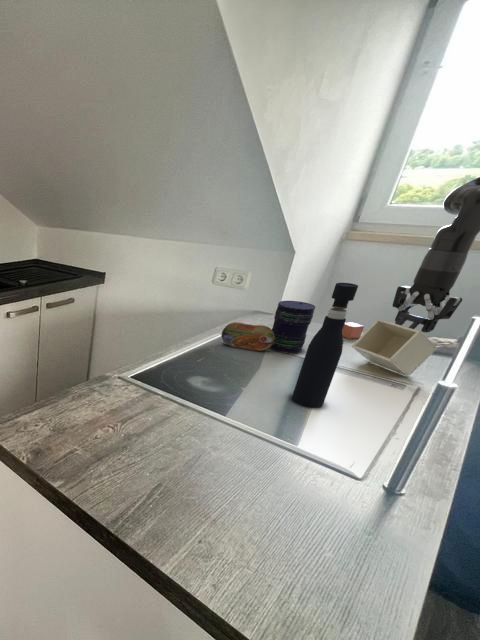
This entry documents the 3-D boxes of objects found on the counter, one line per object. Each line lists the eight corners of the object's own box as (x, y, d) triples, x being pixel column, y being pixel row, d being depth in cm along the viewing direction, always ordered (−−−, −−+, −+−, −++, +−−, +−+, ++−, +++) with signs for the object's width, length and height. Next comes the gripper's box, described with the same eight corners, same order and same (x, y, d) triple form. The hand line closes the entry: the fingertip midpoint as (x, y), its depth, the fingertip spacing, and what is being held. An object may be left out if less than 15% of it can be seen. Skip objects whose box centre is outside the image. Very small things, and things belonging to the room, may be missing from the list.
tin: (219, 344, 134) (224, 321, 131) (220, 341, 136) (225, 318, 133) (270, 353, 126) (277, 329, 123) (271, 350, 128) (278, 326, 125)
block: (348, 333, 140) (352, 322, 138) (359, 337, 136) (364, 326, 134) (337, 334, 140) (341, 322, 138) (348, 338, 136) (353, 326, 134)
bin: (408, 376, 109) (390, 361, 105) (369, 361, 119) (351, 346, 115) (451, 334, 105) (434, 317, 101) (407, 322, 115) (390, 305, 111)
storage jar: (291, 356, 124) (305, 311, 118) (260, 346, 132) (271, 303, 126) (308, 349, 128) (322, 305, 122) (276, 340, 136) (288, 299, 130)
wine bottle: (285, 398, 100) (322, 283, 88) (301, 393, 102) (339, 280, 90) (312, 410, 95) (355, 289, 82) (328, 404, 97) (372, 285, 85)
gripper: (486, 273, 96) (453, 336, 103) (421, 262, 109) (395, 319, 116) (461, 273, 95) (429, 337, 102) (399, 263, 108) (374, 320, 115)
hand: (411, 327), depth 109 cm, fingers closed on bin, 6 cm apart
